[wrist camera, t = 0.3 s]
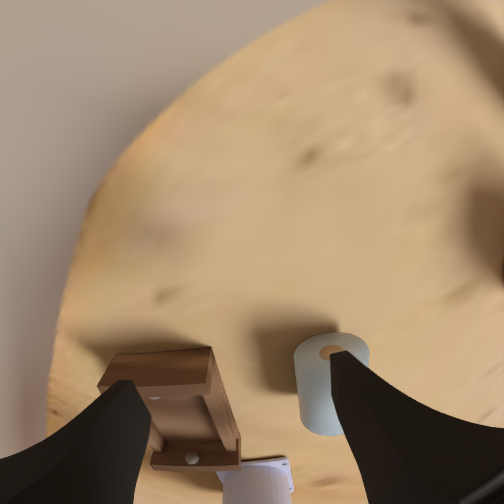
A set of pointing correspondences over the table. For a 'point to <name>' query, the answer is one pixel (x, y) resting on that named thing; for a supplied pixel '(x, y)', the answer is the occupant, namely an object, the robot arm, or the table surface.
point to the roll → (322, 378)
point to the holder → (182, 409)
